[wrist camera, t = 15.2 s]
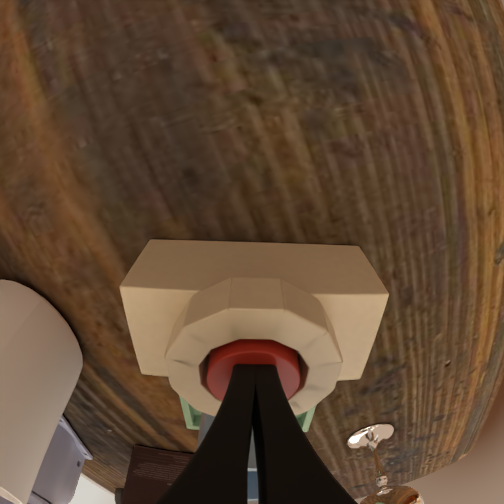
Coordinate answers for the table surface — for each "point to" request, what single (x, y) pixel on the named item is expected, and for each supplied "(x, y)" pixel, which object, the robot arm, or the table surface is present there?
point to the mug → (31, 383)
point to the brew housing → (252, 310)
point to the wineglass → (386, 498)
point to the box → (152, 474)
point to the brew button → (252, 354)
